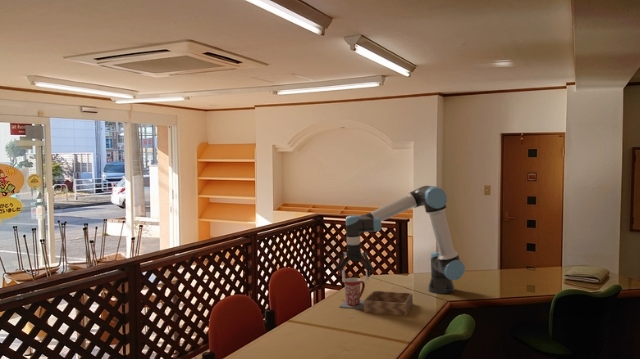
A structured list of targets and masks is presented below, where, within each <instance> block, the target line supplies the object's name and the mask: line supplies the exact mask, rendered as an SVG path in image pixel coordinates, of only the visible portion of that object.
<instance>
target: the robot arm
mask: <svg viewBox="0 0 640 359" xmlns="http://www.w3.org/2000/svg"><path fill="white" fill-rule="evenodd" d="M447 201H448V197H447V193H446V191H445V190H444V189H442V188H441V187H439V186H432V185H424V186H420V187H418V188H416V189H415V190H412V191H410V192H408V193H407V195H405V196H403V197H401V198H399V199H397V200H395V201H392V202H390V203H388V204H385V205H383V206H381V207H379V208H377V209H374V210H372V211H370V212H367V213H365V214H360V215H356V214H355V215H347V216H346V217H345V230H346V232H345V234H346V252H345V251H343V252H341V256H340V260H339V262H338V264H337V266H336V269H337V270H339V273H340V276H341V277H342V278H341V280H342V283H345V282H344V279H346V273H345V272H346V269H344V268H345V267H346V266H347V265H348V263H349V262H350V261H351V262H357V261H358V262H359V263H360V264H361V265H362V266H363V268H364V269H365V270H366V271H365V280H366V281H365V284H368V283H369V282H370V281H369V280H370V279H369V278H370V277H371V271H372V270H373V269H374V266H373V264H372V262H371V260H370V259H369V257H368V253H367V252H362V248H361V233H370V232H371V233H372V232H380V231H381V229H382V222H383V221H385V220H388V219H390V218H392V217H394V216H396V215H399V214H401V213H404V212H405V211H408V210H410V209H412V208H413V209H416V208H419V207H424V210H425V213H426V214H428V215H429V218H430V221H431V226H432V231H433V233H434V238H435V241H436V245H437V249H438V251H437V252H432V253H431V254H430V272H431V273H430V280H429V284H428V291H429V292H431V293H435V294H442V295H443V294H444V295H445V294H452V293H454V292H455V290H456V289H455V284H454V282H453V281H456V280H457V281H458V280H460V278H462V277H463V275H464V274H465V271H466V267H465V265H464V263H463V261H461V260H460V259H461V258H460V256H459V253H458V252H457V251H456V250H455V247H454V243H453V240H452V236H451V232H450V227H449V224H448V219H447V216H446V212H445V211H446V210H447V204H446V203H447ZM346 256H347V259H346V260H345V257H346ZM362 257H363V258H364V260H365V261H364V260H363V258H362ZM344 260H345V262H344ZM343 262H344V263H343Z"/></svg>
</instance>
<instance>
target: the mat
mask: <svg viewBox="0 0 640 359" xmlns="http://www.w3.org/2000/svg"><path fill="white" fill-rule="evenodd" d="M364 300H365V299H364ZM364 300H363V299H360V304H359V305H356V306H350V305H347V303H346V300H345V301H344V302H342V303H341V304H340V305H339V308H341V309H342V308H343V309H352V310H353V309H355V310H364Z"/></svg>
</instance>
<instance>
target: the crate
mask: <svg viewBox="0 0 640 359" xmlns="http://www.w3.org/2000/svg"><path fill="white" fill-rule="evenodd" d="M413 298H414V297H413V292H401V291H400V292H399V291H385V290H384V291H382V290H372V291H371V292H370V293H369V295H367V297H366V298H365V299H364V309H363V312H364V313H371V314H381V315H382V314H384V315H392V316H393V315H396V316H405V317H406V316H407V315H408V313H409V311H410V309H411V308H412V306H413V303H414V299H413Z"/></svg>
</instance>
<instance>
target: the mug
mask: <svg viewBox="0 0 640 359" xmlns="http://www.w3.org/2000/svg"><path fill="white" fill-rule="evenodd" d="M343 283H344V289H345V301H346V303H347V305H350V306H356V305H359V304H360V300H361V297H362V296H363V293H364V291H365V286H366V285H365V284H366V282H365V281H363V280H361V278H359V277H348V278H345V279H344V282H343ZM361 284H362V286H361Z"/></svg>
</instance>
